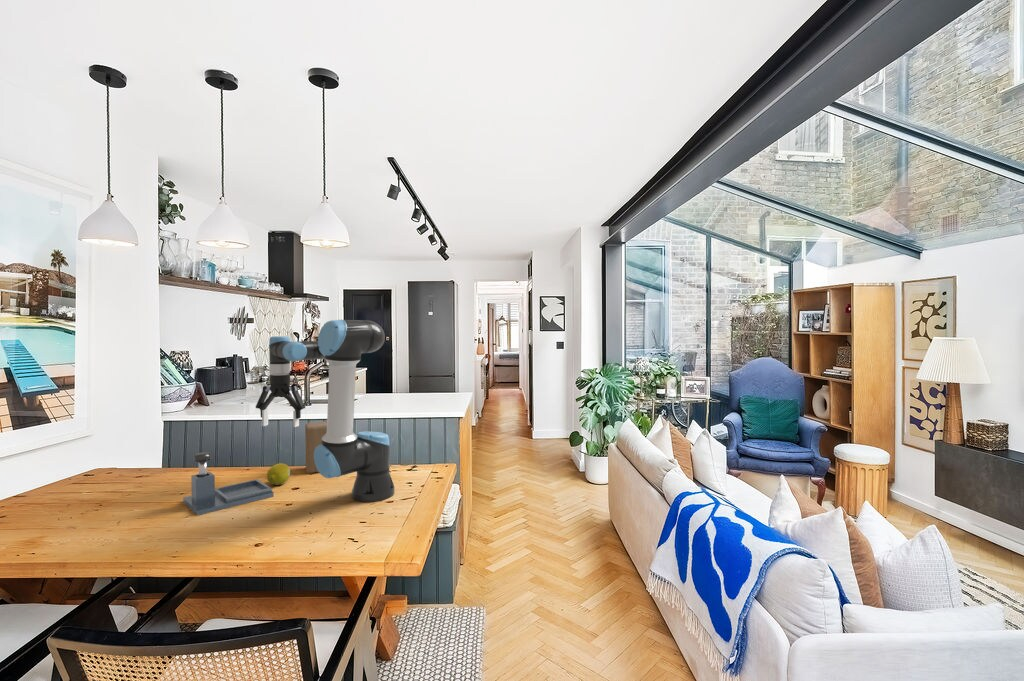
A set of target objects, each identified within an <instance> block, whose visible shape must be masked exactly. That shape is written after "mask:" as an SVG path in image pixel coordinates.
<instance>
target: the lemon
mask: <svg viewBox="0 0 1024 681" xmlns="http://www.w3.org/2000/svg"><path fill="white" fill-rule="evenodd" d="M290 476H291V469H290V467H289V465H288V464H285V463H281V462H279V463H276V464H274V465H272V466H271V467H270V468H269V469H268V471H267V474H266V477H267V481H268V482H269V483H270V484H272V485H274V486H280V485H283V484H284V483H287V481H288V480H289V478H290Z"/></svg>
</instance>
